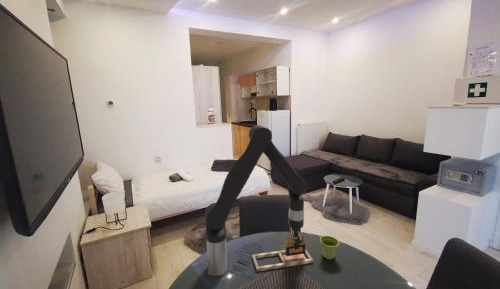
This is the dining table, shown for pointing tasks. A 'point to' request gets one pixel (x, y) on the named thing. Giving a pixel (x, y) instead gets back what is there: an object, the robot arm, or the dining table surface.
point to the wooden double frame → (287, 260)
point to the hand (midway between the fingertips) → (295, 247)
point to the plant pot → (329, 246)
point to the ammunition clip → (290, 246)
